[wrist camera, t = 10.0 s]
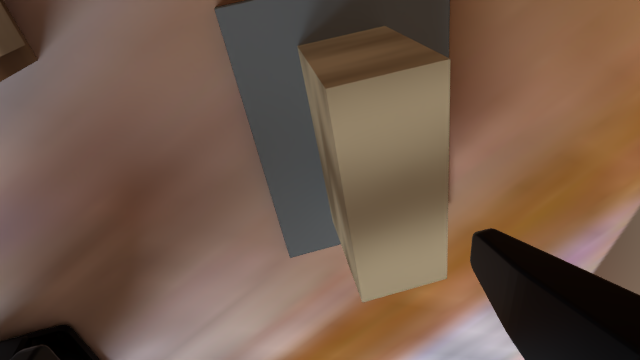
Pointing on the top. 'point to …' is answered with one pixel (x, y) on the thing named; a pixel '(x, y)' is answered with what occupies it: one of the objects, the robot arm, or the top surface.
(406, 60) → the wooden block
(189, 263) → the top surface
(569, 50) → the top surface
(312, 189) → the mat
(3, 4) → the brown wooden cube
